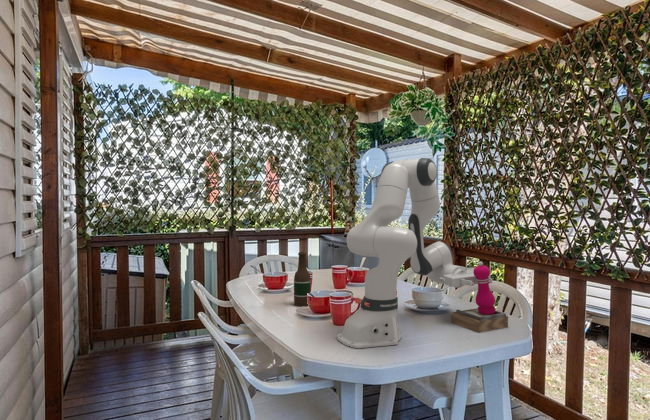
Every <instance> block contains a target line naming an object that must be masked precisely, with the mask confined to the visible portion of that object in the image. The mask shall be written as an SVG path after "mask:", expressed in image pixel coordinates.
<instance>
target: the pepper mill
mask: <svg viewBox="0 0 650 420" xmlns="http://www.w3.org/2000/svg"><path fill="white" fill-rule="evenodd" d="M477 264H478V265H477V266H474V267H473V268H474V271H473V273H474V276H475V277H476V282H477V283H478V284H477V293H476V295H475V304H476V305H477V308H478V312H479V313H480V314H483V315H489V314H493V313H495V310H496V306H495V304H496V298H495V297H496V296H494V294H493V292H492V290H491V289H490V284H489V281H490V280H489V277H488V276H489V275H490V276H491V271H490V268H489V267H488V266H487V265H484V263H483V261H478V263H477Z"/></svg>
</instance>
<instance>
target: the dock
mask: <svg viewBox="0 0 650 420" xmlns="http://www.w3.org/2000/svg"><path fill="white" fill-rule="evenodd" d="M450 315H451V316H450V317H451V318H450V319H451V322H450V323H451V324H454V325H458V326H459V327H463V328H466V329H469V330H470V331H473V332H476V333H482V332H487V331H488V332H489V331H493V330H499V328H500V329H504V327H505V328H509V316H508V315H507V313H506V312H502V311H499V310H496V309H495V313H493V314H489V315H483V314H480V313H479V312H478V307H477V308H471V309H465V310H461V309H456V310H455V311H451V314H450Z"/></svg>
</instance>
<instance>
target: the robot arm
mask: <svg viewBox="0 0 650 420" xmlns="http://www.w3.org/2000/svg"><path fill="white" fill-rule="evenodd" d="M380 171H381V172H380V177H379V179H378V183H377V187H376V191H375V194H374V199H373V201H372V205H371V207H370V210H369V211H368V213H367V214H366V216H365V217H364V218H363V219H362V220H361V221H360V222H358V224H356V225H355V226H353V227H351V228H350V230H349V231H348V232H347V235H346V241H345V242H346V246H347V248H348V250H349V252H351V253H352V254H356V255H359V256H362V257H369V258H370V257H371V258H372V257H373V258H379V259H378V265H377V266H375V267H373V268H371V269H369V270H368V271H367V272H366V274H365V276H364V296H363V298H362V299H361V298H359V297H356V298H355V299H354V302H355V304H357V305H360V307H359V308H358V309H357V310H356V311H355V312H354V313H352V314H351V315H350V316H349V317H348V318H347V319H346V320H345V321H344V322H345V323H344V325H343V332H341V333H340V332H339V333H338V334H337V335H336V339H337V341H338V342H340V343H341V342H342V343H341V344H343V345H345V346H347V347H349V346H350V347H349V348H352V349H361V348H362V349H363V348H375V347H385V346H387V347H388V346H393V345H395V346H396V345H399V341H401V339H402V335H401V332H400V327H399V319H398V308H399V299H398V296H397V292H398V291H397V287H398V276H399V272H400V270H401V267H402V266H403V265H404V263H405V262H406V261H408V260H409V265H410V268H411V270H412V271H413V272H414V273H415V274H417V275H420V276H426V277H427V278H428V279H429V280H431V281H432V282H434V283H436V284H437V283H438V284H441V285H445V286H449V287H453V288H457V289H460V288H462V287H464V286H470V287H472V286H475V285H478V283H477V282H476V277H475V276H474V273H473V271H474V268H475V267H470V266H462V265H461V266H460V265H455V264H454V256H453V255H454V254H453V251H452V248H451V247H450V246H449V245H448V244H447V243H445V242H444V241H439V240H438V241H435V242H434V243H432V244H429V245H427V246H426V247H425V245H424V244H425V243H424V242H425V241H424V230H425V229H426V226H427V225H428V224H429V223H430V222H431V220H432V219H434V217H435V216H436V215H437V214H438V212H439V210H440V206H441V201H440V195H439V191H438V187H437V185H436V182H435V181H436V179H437V176H438V168H437V165H436V163H435V161H433V160H432V159H431V158H428V157H420V158H410V159H408V158H406V159H400V160H396V161H392V160H391V161H389V162H387V163H385V164H384V165H383V167H382V168H381V170H380ZM408 190H409V196H410V202H411V210H410V215H409V217H408V221H407V223H408V224H407V225H408V228H405V227H400V226H389V225H390V224H392V222H394V221H396V220H398V219H400V217H402V215H403V213H404V209H405V205H406V201H407V200H406V199H407V195H408ZM491 276H492V275H491V274H490V275H489V276H488V277H489V280H490V281H489V285H490V284H493V278H491Z"/></svg>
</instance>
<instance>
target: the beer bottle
mask: <svg viewBox="0 0 650 420" xmlns="http://www.w3.org/2000/svg"><path fill="white" fill-rule="evenodd" d="M297 266H298V267H297V270H296V272H295V274H294V277H293V305H294V306H296V307H299V306H300V307H302V306H305V307H308V304H307V293H310V292H311V291H312V289H311V287H312V283H311V281H312V279H311V274H310V272H309V271H308V268H307V252H305V251H299V252H298V265H297ZM311 293H312V292H311ZM300 307H299V308H300Z"/></svg>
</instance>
